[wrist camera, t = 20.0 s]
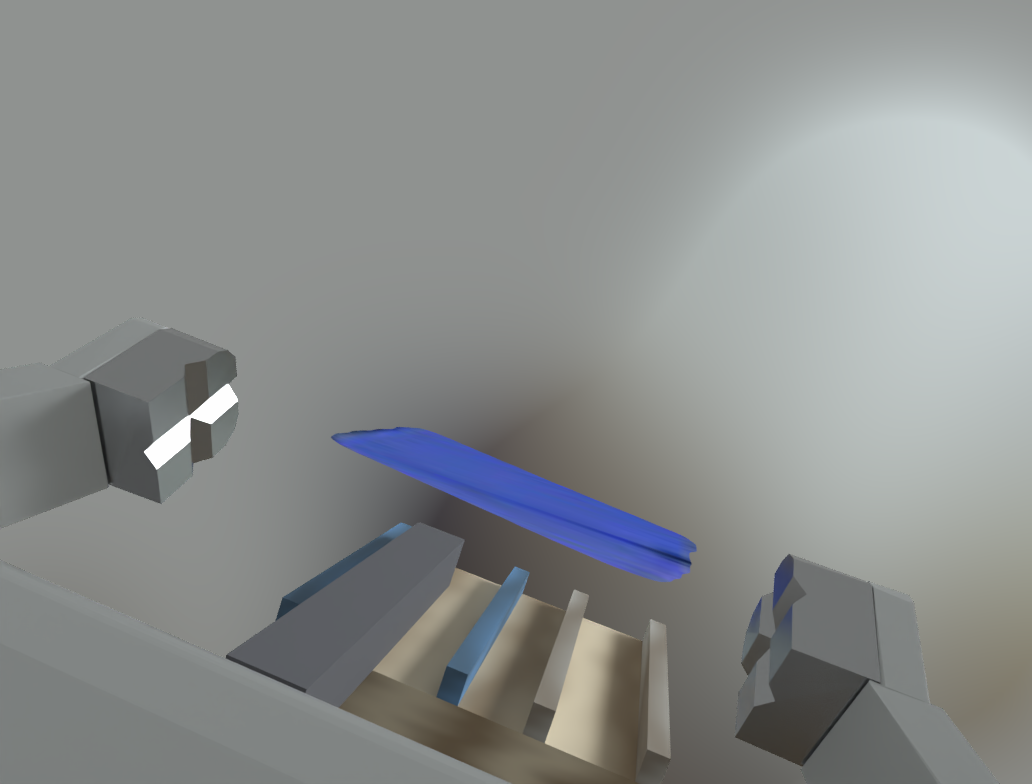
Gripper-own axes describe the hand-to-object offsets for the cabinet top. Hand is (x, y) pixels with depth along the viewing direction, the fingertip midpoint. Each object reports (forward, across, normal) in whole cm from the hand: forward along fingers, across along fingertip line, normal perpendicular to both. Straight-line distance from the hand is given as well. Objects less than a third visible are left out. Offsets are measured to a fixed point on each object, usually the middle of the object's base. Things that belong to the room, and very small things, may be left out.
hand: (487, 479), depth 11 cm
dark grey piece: (+13, +7, +24) cm, 28 cm away
